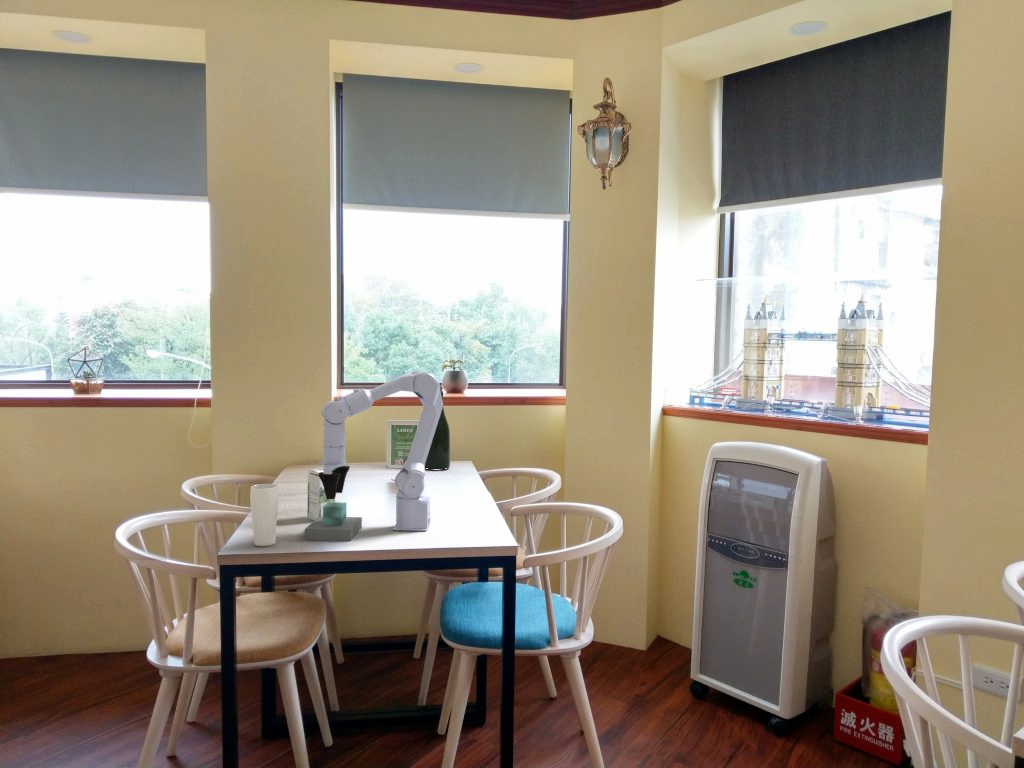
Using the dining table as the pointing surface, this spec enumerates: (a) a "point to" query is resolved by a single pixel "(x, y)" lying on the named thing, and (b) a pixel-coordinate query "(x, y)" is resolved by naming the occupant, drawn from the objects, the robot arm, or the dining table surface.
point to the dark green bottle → (440, 444)
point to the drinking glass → (264, 513)
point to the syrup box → (316, 495)
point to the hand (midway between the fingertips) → (334, 495)
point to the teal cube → (334, 513)
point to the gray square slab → (333, 530)
